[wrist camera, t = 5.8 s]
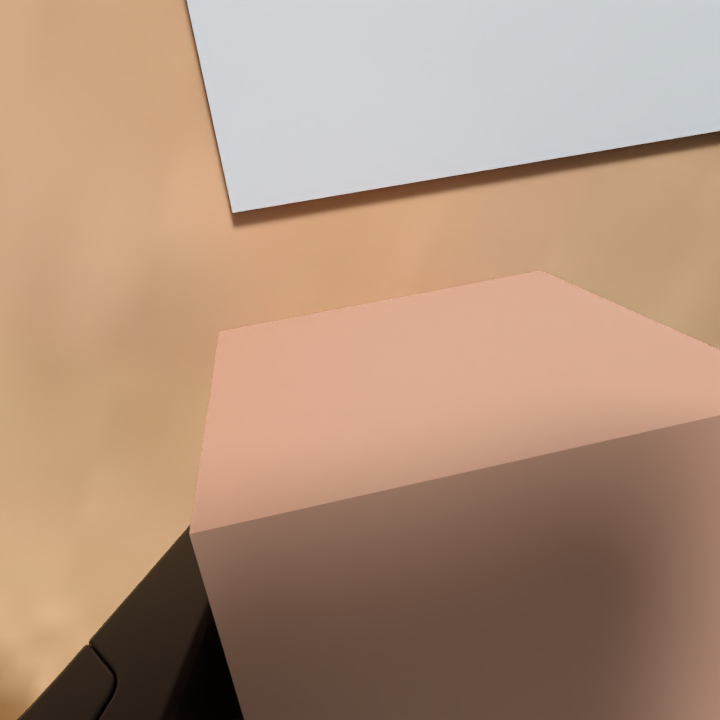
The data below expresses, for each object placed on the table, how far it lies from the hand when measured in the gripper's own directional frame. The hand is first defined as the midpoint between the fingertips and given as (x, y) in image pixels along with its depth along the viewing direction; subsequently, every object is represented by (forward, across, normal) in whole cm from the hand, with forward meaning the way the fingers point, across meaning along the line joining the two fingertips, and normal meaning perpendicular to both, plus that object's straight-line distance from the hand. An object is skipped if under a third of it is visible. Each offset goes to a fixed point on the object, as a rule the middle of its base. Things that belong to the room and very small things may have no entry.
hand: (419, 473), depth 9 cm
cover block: (+1, 0, 0) cm, 1 cm away
